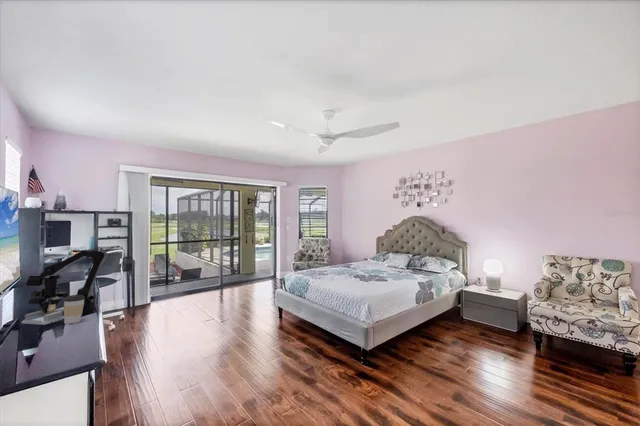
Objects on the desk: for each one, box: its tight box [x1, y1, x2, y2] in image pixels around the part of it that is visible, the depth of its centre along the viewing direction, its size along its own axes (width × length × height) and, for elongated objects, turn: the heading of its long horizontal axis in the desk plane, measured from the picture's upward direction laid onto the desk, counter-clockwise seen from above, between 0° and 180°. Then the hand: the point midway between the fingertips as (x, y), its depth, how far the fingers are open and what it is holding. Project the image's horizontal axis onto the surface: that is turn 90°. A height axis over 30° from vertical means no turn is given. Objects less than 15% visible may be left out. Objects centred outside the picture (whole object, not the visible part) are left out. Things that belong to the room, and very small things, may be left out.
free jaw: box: [23, 310, 45, 320], centre depth 158 cm, size 4×8×3 cm, turn 177°
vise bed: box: [21, 310, 64, 326], centre depth 157 cm, size 14×11×4 cm
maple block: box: [40, 303, 57, 315], centre depth 167 cm, size 5×4×6 cm
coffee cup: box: [63, 294, 85, 325], centre depth 157 cm, size 9×9×15 cm
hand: (48, 312), depth 167 cm, fingers closed on maple block, 4 cm apart
